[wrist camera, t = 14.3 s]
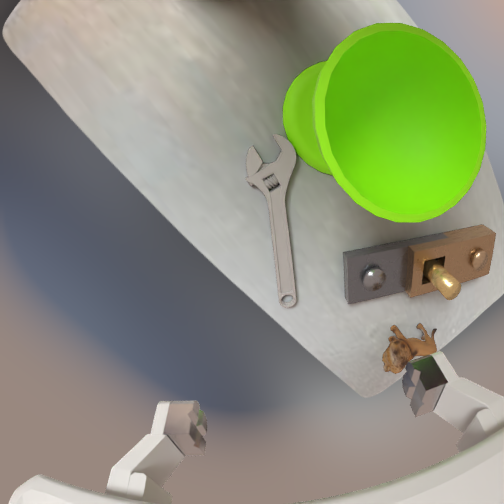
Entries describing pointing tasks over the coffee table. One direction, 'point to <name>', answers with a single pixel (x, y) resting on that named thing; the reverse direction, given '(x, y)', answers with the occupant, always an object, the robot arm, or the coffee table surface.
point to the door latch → (416, 263)
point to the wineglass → (390, 121)
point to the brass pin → (441, 279)
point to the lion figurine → (406, 349)
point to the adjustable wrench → (276, 209)
